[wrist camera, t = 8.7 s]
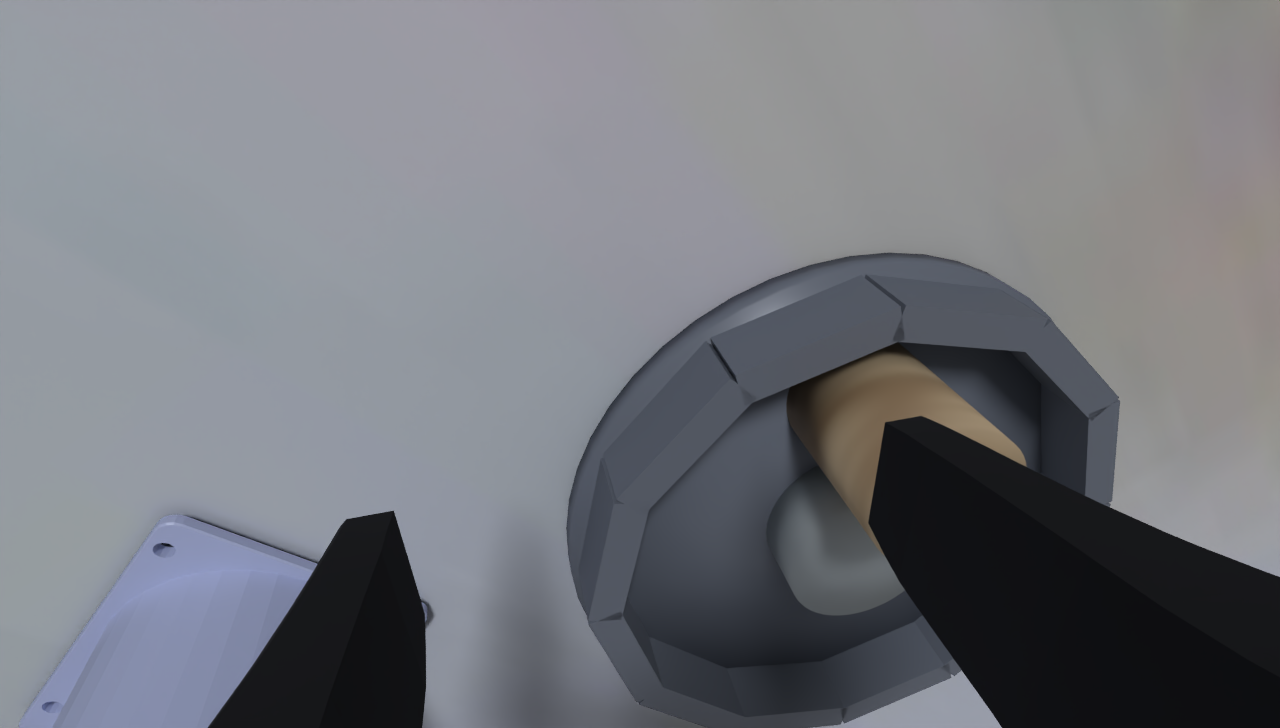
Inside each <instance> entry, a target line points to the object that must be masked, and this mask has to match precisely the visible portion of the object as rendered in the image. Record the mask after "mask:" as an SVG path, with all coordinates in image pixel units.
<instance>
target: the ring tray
mask: <svg viewBox="0 0 1280 728" xmlns="http://www.w3.org/2000/svg"><path fill="white" fill-rule="evenodd" d="M897 342H898V343H899V344H901V345H902V346H903V347H904V348H905V349H906V350H908V351H909V352H910V353H911V354H912V355H913V356H914V357H916V358H917V359H918V360H919V361H920V362H921V363H922V364H924V365H925V366H926V367H927V368H928V369H929V370H931V371H932V372H933V373H934V374H935V375H936V376H937V377H939V378H940V379H941V380H942V381H943V382H944V383H945V384H947V385H948V386H949V387H950V388H951V389H952V390H954V391H955V392H956V393H957V394H958V395H959V396H960V397H962V398H963V399H964V400H965V401H966V402H967V403H968V404H970V405H971V406H972V407H973V408H974V409H975V410H977V411H978V412H979V413H980V414H981V415H982V416H983V417H985V418H986V419H987V420H988V421H989V422H990V423H991V424H993V425H994V426H995V427H996V428H997V429H998V430H1000V431H1001V432H1002V433H1003V434H1004V435H1005V436H1006V437H1008V438H1009V439H1010V440H1011V441H1012V442H1013V443H1014V444H1016V446H1017V447H1018V448H1019V449H1020V450H1021V452H1022V454H1023V455H1024V458H1025V461H1026V467H1028V468H1030V469H1032V470H1034V471H1036V472H1038V473H1040V474H1042V475H1044V476H1046V477H1048V478H1050V479H1052V480H1054V481H1056V482H1058V483H1060V484H1062V485H1064V486H1066V487H1068V488H1070V489H1072V490H1074V491H1076V492H1078V493H1080V494H1082V495H1084V496H1087V497H1089V498H1091V499H1093V500H1095V501H1097V502H1099V503H1101V504H1104V505H1106V506H1108V507H1109V506H1110V505H1111V504H1109V502H1111V501H1112V494H1113V482H1114V469H1115V457H1116V444H1117V431H1118V419H1119V406H1120V401H1119V400H1118V398H1119V397H1118V396H1117V395H1116V394H1115V392H1114V391H1113V390H1112V389H1111V388H1110V387H1109V386H1108V384H1107V383H1106V382H1105V381H1104V380H1103V379H1102V378H1101V377H1100V375H1099V374H1098V373H1097V372H1096V371H1095V370H1094V369H1093V367H1092V366H1091V365H1090V364H1089V363H1088V362H1087V361H1086V359H1085V358H1084V357H1083V356H1082V355H1081V354H1080V353H1079V351H1078V350H1077V349H1076V348H1075V347H1074V346H1073V345H1072V343H1071V342H1070V341H1069V340H1068V339H1067V338H1066V337H1065V335H1064V334H1063V333H1062V332H1061V331H1060V330H1059V329H1058V328H1057V326H1056V325H1055V324H1054V322H1053V321H1052V320H1051V318H1050V317H1049V316H1048V315H1047V314H1046V313H1045V312H1044V311H1043V310H1042V309H1041V308H1039V307H1038V306H1037V305H1036V304H1035V303H1034V302H1033V301H1032V300H1031V299H1030V298H1028V297H1027V296H1025V295H1023V294H1022V293H1020V292H1018V291H1017V290H1015V289H1014V288H1012V287H1010V286H1009V285H1007V284H1005V283H1004V282H1002V281H1000V280H999V279H997V278H995V277H994V276H992V275H990V274H988V273H987V272H984V271H982V270H979V269H976V268H974V267H971V266H969V265H966V264H963V263H961V262H958V261H954V260H949V259H944V258H939V257H934V256H929V255H923V254H902V253H881V254H870V255H859V256H849V257H845V258H840V259H835V260H831V261H826V262H822V263H817V264H813V265H809V266H806V267H803V268H800V269H798V270H795V271H792V272H789V273H786V274H783V275H780V276H778V277H775V278H772V279H769V280H767V281H765V282H763V283H761V284H759V285H757V286H755V287H753V288H751V289H749V290H747V291H745V292H742V293H740V294H738V295H736V296H734V297H732V298H730V299H729V300H727V301H726V302H724V303H722V304H721V305H719V306H718V307H716V308H715V309H713V310H711V311H710V312H708V313H707V314H705V315H703V316H702V317H700V318H699V319H697V320H695V321H694V322H693V323H692V324H690V325H689V326H688V327H687V328H685V329H684V330H683V331H682V332H680V333H679V334H678V335H677V336H675V337H674V338H673V339H672V340H670V341H669V342H668V343H666V344H665V345H664V346H663V347H662V348H661V349H660V350H659V351H658V352H657V353H656V354H655V355H654V356H653V357H652V358H651V359H650V360H649V361H648V362H647V363H646V364H645V365H644V366H643V367H642V368H641V369H640V370H639V371H638V372H637V373H636V374H635V375H634V376H633V377H632V378H631V379H630V381H629V382H628V383H627V385H626V386H625V387H624V388H623V390H622V391H621V392H620V393H619V395H618V396H617V397H616V398H615V400H614V401H613V402H612V404H611V405H610V406H609V408H608V409H607V411H606V413H605V414H604V416H603V418H602V419H601V421H600V423H599V424H598V426H597V428H596V429H595V431H594V433H593V434H592V436H591V438H590V440H589V442H588V445H587V447H586V449H585V452H584V454H583V456H582V459H581V461H580V463H579V466H578V468H577V471H576V475H575V479H574V483H573V487H572V490H571V494H570V498H569V506H568V516H567V527H566V530H567V543H568V555H569V561H570V567H571V572H572V576H573V580H574V584H575V587H576V591H577V595H578V598H579V600H580V603H581V605H582V607H583V609H584V611H585V613H586V615H587V619H588V624H589V626H590V628H591V629H592V631H593V633H594V634H595V636H596V637H597V639H598V641H599V642H600V644H601V646H602V647H603V649H604V650H605V652H606V654H607V655H608V657H609V658H610V660H611V662H612V663H613V665H614V667H615V668H616V670H617V671H618V673H619V675H620V676H621V678H622V680H623V681H624V683H625V684H626V686H627V688H628V689H629V691H630V692H631V694H632V696H633V697H634V699H635V701H636V702H639V704H640V705H643V706H645V707H648V708H651V709H654V710H657V711H660V712H663V713H666V714H669V715H672V716H675V717H678V718H681V719H684V720H687V721H690V722H693V723H695V724H698V725H701V726H704V727H707V728H810V727H820V726H830V725H839V724H841V722H842V720H843V722H844V723H846V722H849V721H851V720H853V719H856V718H858V717H860V716H863V715H865V714H867V713H870V712H872V711H874V710H877V709H879V708H881V707H884V706H886V705H888V704H891V703H893V702H895V701H898V700H900V699H903V698H905V697H907V696H910V695H912V694H914V693H917V692H919V691H921V690H924V689H926V688H928V687H931V686H933V685H935V684H938V683H940V682H942V681H945V680H947V679H949V678H951V674H952V675H954V676H955V675H956V674H957V673H959V672H960V671H961V669H960V667H959V666H958V664H957V663H956V662H955V660H954V659H953V657H952V656H951V655H950V653H949V652H948V650H947V649H946V648H945V646H944V645H943V643H942V642H941V641H940V639H939V638H938V636H937V635H936V634H935V632H934V631H933V629H932V628H931V627H930V625H929V624H928V622H927V621H926V619H925V618H924V617H923V615H922V614H921V612H920V611H919V610H918V608H917V607H916V605H915V604H914V602H913V601H912V600H911V598H910V597H909V595H908V594H907V592H906V591H905V589H904V588H903V586H902V585H901V584H900V582H899V580H898V579H897V577H896V575H895V573H894V571H893V570H892V568H891V566H890V564H889V562H888V561H887V559H886V557H885V556H884V555H883V554H882V553H881V552H880V551H879V550H878V548H877V547H876V546H875V544H874V543H873V541H872V540H871V539H870V537H869V536H868V534H867V533H866V532H865V530H864V529H863V527H862V526H861V525H860V523H859V522H858V520H857V519H856V517H855V516H854V515H853V513H852V512H851V510H850V509H849V508H848V506H847V505H846V503H845V502H844V501H843V499H842V498H841V496H840V495H839V493H838V492H837V491H836V489H835V488H834V486H833V485H832V484H831V482H830V481H829V479H828V478H827V477H826V475H825V474H824V472H823V471H822V470H821V468H820V467H819V465H818V464H817V462H816V461H815V460H814V458H813V457H812V455H811V454H810V453H809V451H808V450H807V448H806V447H805V446H804V444H803V443H802V441H801V440H800V439H799V437H798V436H797V434H796V433H795V431H794V430H793V428H792V427H791V425H790V423H789V420H788V417H787V411H786V403H787V396H788V392H789V388H790V387H791V386H794V385H796V384H798V383H801V382H803V381H806V380H808V379H810V378H813V377H815V376H818V375H820V374H822V373H825V372H827V371H830V370H832V369H834V368H837V367H839V366H842V365H844V364H846V363H849V362H851V361H854V360H856V359H858V358H861V357H863V356H865V355H868V354H870V353H873V352H875V351H877V350H880V349H882V348H885V347H887V346H889V345H892V344H894V343H897Z"/></svg>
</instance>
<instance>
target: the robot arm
mask: <svg viewBox="0 0 1280 728" xmlns="http://www.w3.org/2000/svg"><path fill="white" fill-rule="evenodd" d="M868 524H869V526H870V528H871V530H872V532H873V534H874V536H875V538H876V539H877V541H878V543H879V545H880V547H881V549H882V551H883V553H884V555H885V557H886V559H887V561H888V562H889V564H890V566H891V568H892V570H893V571H894V573H895V575H896V577H897V579H898V580H899V582H900V584H901V585H902V586H903V588H904V589H905V591H906V592H907V594H908V595H909V597H910V598H911V600H912V601H913V602H914V604H915V605H916V607H917V608H918V610H919V611H920V612H921V614H922V615H923V617H924V618H925V619H926V621H927V622H928V624H929V625H930V627H931V628H932V629H933V631H934V632H935V634H936V635H937V636H938V638H939V639H940V641H941V642H942V643H943V645H944V646H945V648H946V649H947V650H948V652H949V653H950V655H951V656H952V657H953V659H954V660H955V662H956V663H957V664H958V666H959V667H960V669H961V670H962V671H963V673H964V674H965V676H966V677H967V678H968V680H969V681H970V683H971V684H972V685H973V687H974V688H975V689H976V691H977V692H978V694H979V695H980V696H981V698H982V699H983V701H984V702H985V703H986V705H987V706H988V708H989V709H990V710H991V712H992V713H993V715H994V716H995V718H996V719H997V721H998V722H999V724H1000V725H1001V727H1002V728H1280V577H1278V576H1275V575H1272V574H1270V573H1267V572H1264V571H1262V570H1259V569H1256V568H1254V567H1251V566H1249V565H1246V564H1244V563H1241V562H1238V561H1236V560H1233V559H1231V558H1228V557H1225V556H1223V555H1220V554H1218V553H1215V552H1212V551H1210V550H1207V549H1205V548H1202V547H1199V546H1197V545H1195V544H1192V543H1190V542H1187V541H1185V540H1182V539H1180V538H1178V537H1175V536H1173V535H1170V534H1168V533H1166V532H1163V531H1161V530H1159V529H1157V528H1155V527H1152V526H1150V525H1148V524H1146V523H1143V522H1141V521H1139V520H1137V519H1134V518H1132V517H1130V516H1128V515H1125V514H1123V513H1121V512H1119V511H1116V510H1114V509H1112V508H1110V507H1108V506H1106V505H1104V504H1101V503H1099V502H1097V501H1095V500H1093V499H1091V498H1089V497H1087V496H1084V495H1082V494H1080V493H1078V492H1076V491H1074V490H1072V489H1070V488H1068V487H1066V486H1064V485H1062V484H1060V483H1058V482H1056V481H1054V480H1052V479H1050V478H1048V477H1046V476H1044V475H1042V474H1040V473H1038V472H1036V471H1034V470H1032V469H1030V468H1028V467H1026V466H1024V465H1022V464H1020V463H1018V462H1016V461H1014V460H1012V459H1010V458H1008V457H1006V456H1004V455H1002V454H1000V453H998V452H996V451H994V450H992V449H990V448H988V447H986V446H984V445H982V444H980V443H978V442H976V441H974V440H972V439H970V438H968V437H966V436H964V435H962V434H960V433H958V432H956V431H954V430H952V429H950V428H948V427H946V426H944V425H942V424H939V423H937V422H935V421H933V420H930V419H928V418H926V417H923V416H917V417H912V418H906V419H901V420H895V421H890V422H885V425H884V431H883V437H882V443H881V449H880V455H879V461H878V467H877V473H876V479H875V485H874V491H873V497H872V503H871V509H870V515H869V520H868ZM160 543H168V544H170V545H172V546H174V547H167V546H164V545H162V544H160ZM426 620H427V606H426V605H425V604H424V603H423V602H421V599H420V596H419V593H418V590H417V586H416V583H415V580H414V576H413V573H412V570H411V566H410V563H409V560H408V556H407V553H406V550H405V547H404V543H403V540H402V537H401V533H400V530H399V527H398V523H397V520H396V517H395V513H394V511H390V512H384V513H379V514H373V515H368V516H362V517H357V518H351V519H346V520H345V522H344V523H343V524H342V525H341V526H340V528H339V529H338V531H337V533H336V534H335V536H334V538H333V539H332V541H331V543H330V544H329V546H328V548H327V549H326V551H325V553H324V554H323V556H322V558H321V559H320V561H319V563H318V564H317V563H314V562H311V561H308V560H306V559H303V558H300V557H297V556H295V555H292V554H289V553H286V552H284V551H281V550H278V549H275V548H273V547H270V546H267V545H264V544H262V543H259V542H256V541H253V540H251V539H248V538H245V537H242V536H239V535H237V534H234V533H231V532H228V531H226V530H223V529H220V528H217V527H215V526H212V525H209V524H206V523H204V522H201V521H198V520H195V519H193V518H190V517H187V516H183V515H168V516H165V517H163V518H161V519H160V520H159V521H158V522H157V524H156V525H155V526H154V528H153V529H152V531H151V532H150V534H149V535H148V536H147V538H146V539H145V541H144V542H143V544H142V545H141V547H140V548H139V549H138V551H137V552H136V554H135V555H134V557H133V558H132V560H131V561H130V562H129V564H128V565H127V567H126V568H125V570H124V571H123V572H122V574H121V575H120V577H119V578H118V580H117V581H116V583H115V584H114V585H113V587H112V588H111V590H110V591H109V593H108V594H107V595H106V597H105V598H104V600H103V601H102V603H101V604H100V606H99V607H98V608H97V610H96V611H95V613H94V614H93V616H92V617H91V619H90V620H89V621H88V623H87V624H86V626H85V627H84V629H83V630H82V631H81V633H80V634H79V636H78V637H77V639H76V640H75V642H74V643H73V644H72V646H71V647H70V649H69V650H68V652H67V653H66V654H65V656H64V657H63V659H62V660H61V662H60V663H59V665H58V666H57V667H56V669H55V670H54V672H53V673H52V675H51V676H50V678H49V679H48V680H47V682H46V683H45V685H44V686H43V688H42V689H41V690H40V692H39V693H38V695H37V696H36V698H35V699H34V701H33V702H32V703H31V705H30V706H29V708H28V709H27V711H26V712H25V714H24V715H23V717H22V719H21V721H20V723H19V728H422V723H423V713H424V703H425V692H426V640H425V622H426Z"/></svg>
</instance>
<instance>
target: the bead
mask: <svg viewBox="0 0 1280 728" xmlns="http://www.w3.org/2000/svg"><path fill="white" fill-rule="evenodd" d="M786 411H787V417H788V420H789V423H790V425H791V427H792V428H793V430H794V431H795V433H796V434H797V436H798V437H799V439H800V440H801V441H802V443H803V444H804V446H805V447H806V448H807V450H808V451H809V453H810V454H811V455H812V457H813V458H814V460H815V461H816V462H817V464H818V465H819V467H820V468H821V470H822V471H823V472H824V474H825V475H826V477H827V478H828V479H829V481H830V482H831V484H832V485H833V486H834V488H835V489H836V491H837V492H838V493H839V495H840V496H841V498H842V499H843V501H844V502H845V503H846V505H847V506H848V508H849V509H850V510H851V512H852V513H853V515H854V516H855V517H856V519H857V520H858V522H859V523H860V525H861V526H862V527H863V529H864V530H865V532H866V533H867V534H868V536H869V537H870V539H871V540H872V541H873V543H874V544H875V546H876V547H877V548H878V550H879V551H880V552H881V553H882V554H883V555H884V553H883V551H882V549H881V547H880V545H879V543H878V541H877V539H876V538H875V536H874V534H873V532H872V530H871V528H870V526H869V524H868V520H869V515H870V509H871V503H872V497H873V491H874V485H875V479H876V473H877V467H878V461H879V455H880V449H881V443H882V437H883V431H884V425H885V422H890V421H895V420H901V419H906V418H912V417H917V416H923V417H926V418H928V419H930V420H933V421H935V422H937V423H939V424H942V425H944V426H946V427H948V428H950V429H952V430H954V431H956V432H958V433H960V434H962V435H964V436H966V437H968V438H970V439H972V440H974V441H976V442H978V443H980V444H982V445H984V446H986V447H988V448H990V449H992V450H994V451H996V452H998V453H1000V454H1002V455H1004V456H1006V457H1008V458H1010V459H1012V460H1014V461H1016V462H1018V463H1020V464H1022V465H1024V466H1026V461H1025V458H1024V455H1023V454H1022V452H1021V450H1020V449H1019V448H1018V447H1017V446H1016V444H1014V443H1013V442H1012V441H1011V440H1010V439H1009V438H1008V437H1006V436H1005V435H1004V434H1003V433H1002V432H1001V431H1000V430H998V429H997V428H996V427H995V426H994V425H993V424H991V423H990V422H989V421H988V420H987V419H986V418H985V417H983V416H982V415H981V414H980V413H979V412H978V411H977V410H975V409H974V408H973V407H972V406H971V405H970V404H968V403H967V402H966V401H965V400H964V399H963V398H962V397H960V396H959V395H958V394H957V393H956V392H955V391H954V390H952V389H951V388H950V387H949V386H948V385H947V384H945V383H944V382H943V381H942V380H941V379H940V378H939V377H937V376H936V375H935V374H934V373H933V372H932V371H931V370H929V369H928V368H927V367H926V366H925V365H924V364H922V363H921V362H920V361H919V360H918V359H917V358H916V357H914V356H913V355H912V354H911V353H910V352H909V351H908V350H906V349H905V348H904V347H903V346H902V345H901V344H899V343H898V342H897V343H894V344H892V345H889V346H887V347H885V348H882V349H880V350H877V351H875V352H873V353H870V354H868V355H865V356H863V357H861V358H858V359H856V360H854V361H851V362H849V363H846V364H844V365H842V366H839V367H837V368H834V369H832V370H830V371H827V372H825V373H822V374H820V375H818V376H815V377H813V378H810V379H808V380H806V381H803V382H801V383H798V384H796V385H794V386H791V387H790V388H789V392H788V396H787V403H786ZM884 556H885V555H884Z"/></svg>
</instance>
